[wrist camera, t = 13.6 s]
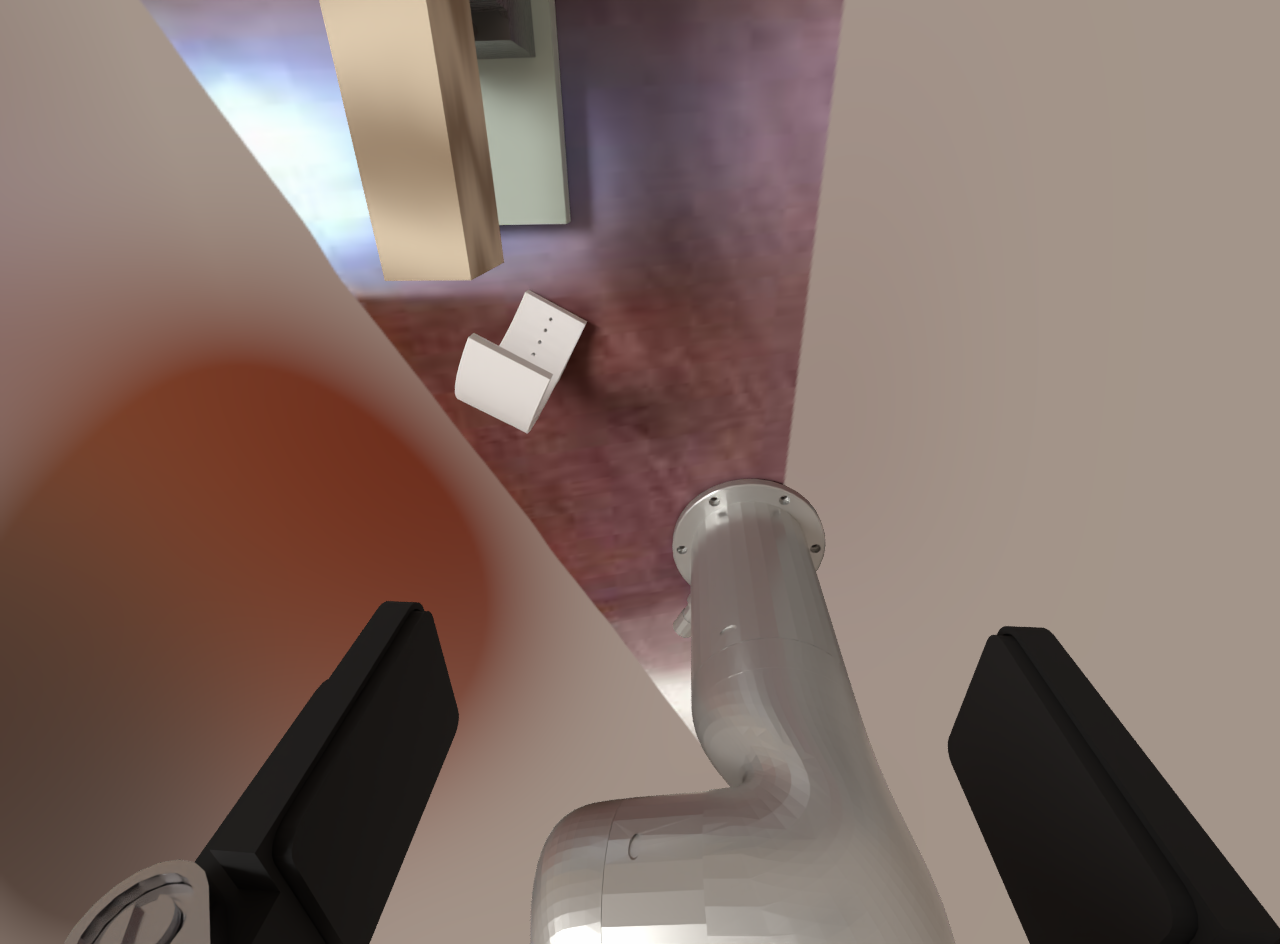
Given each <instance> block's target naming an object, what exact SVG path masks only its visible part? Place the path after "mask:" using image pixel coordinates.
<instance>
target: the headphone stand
mask: <svg viewBox="0 0 1280 944" xmlns="http://www.w3.org/2000/svg"><path fill="white" fill-rule="evenodd" d="M586 323H587V321H585V320H583V319H582V318H580V317H578V316H576V315H574V314H572V313H571V312H569V311H567V310H565V309H563V308H561V307H559V306H558V305H556V304H554V303H552V302H550V301H548V300H547V299H545V298H543V297H541V296H539V295H537V294H535V293H534V292H532V291H530V290H527V291H526V292H525V294H524V296H523V299H522V301H521V303H520V306H519V308H518V310H517V312H516V315H515V317H514V319H513V321H512V323H511V325H510V327H509V329H508V331H507V333H506V335H505V337H504V338H503V340H502V342H501V344H500V346H498V345H496V344H494V343H492V342H490V341H488V340H486V339H484V338H482V337H481V336H479V335H477V334H475V333H473V334H472V335H471V336H469V337H468V340H467V342H466V345H465V348H464V351H463V354H462V357H461V361H460V364H459V368H458V372H457V377H456V383H455V395H456V398H457V399H459V400H461V401H463V402H465V403H467V404H469V405H471V406H473V407H475V408H477V409H479V410H481V411H483V412H485V413H487V414H489V415H491V416H493V417H495V418H498V419H500V420H502V421H504V422H506V423H508V424H510V425H512V426H514V427H516V428H518V429H520V430H522V431H524V432H526V433H529V432H530V430H531V429H532V427H533V426H534V424H535V422H536V420H537V419H538V417H539V415H540V413H541V412H542V410H543V408H544V406H545V404H546V402H547V401H548V399H549V397H550V395H551V393H552V391H553V389H554V387H555V385H556V383H558V381H559V379H560V377H561V375H562V373H563V371H564V369H565V367H566V365H567V363H568V361H569V359H570V356H571V354H572V352H573V350H574V348H575V346H576V344H577V342H578V340H579V338H580V336H581V333H582V331H583V329H584V327H585V325H586Z"/></svg>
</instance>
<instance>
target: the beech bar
mask: <svg viewBox="0 0 1280 944" xmlns="http://www.w3.org/2000/svg"><path fill="white" fill-rule="evenodd" d="M319 2H320V6H321V10H322V14H323V19H324V23H325V27H326V31H327V36H328V40H329V44H330V48H331V53H332V57H333V61H334V65H335V70H336V74H337V78H338V83H339V87H340V91H341V95H342V100H343V104H344V108H345V112H346V117H347V121H348V125H349V129H350V134H351V138H352V142H353V146H354V151H355V155H356V159H357V164H358V168H359V172H360V176H361V181H362V185H363V189H364V193H365V198H366V202H367V206H368V210H369V215H370V219H371V223H372V228H373V232H374V236H375V240H376V245H377V249H378V253H379V257H380V262H381V266H382V270H383V274H384V279H385V281H418V280H472V279H474V278H476V277H478V276H480V275H482V274H484V273H485V272H487V271H489V270H491V269H493V268H495V267H497V266H498V265H500V264H502V263H504V259H503V251H502V244H501V236H500V228H499V221H498V213H497V206H496V198H495V191H494V183H493V175H492V168H491V160H490V153H489V145H488V138H487V130H486V122H485V115H484V107H483V100H482V92H481V85H480V77H479V69H478V62H477V54H476V47H475V39H474V32H473V24H472V16H471V9H470V1H469V0H319Z"/></svg>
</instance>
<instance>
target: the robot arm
mask: <svg viewBox="0 0 1280 944" xmlns="http://www.w3.org/2000/svg"><path fill="white" fill-rule="evenodd" d="M782 496H784V497H782ZM712 497H716V498H712ZM672 547H673V556H674V560H675V563H676V566H677V568H678V570H679V572H680V573H681V575H682V576H683V578H684V579H685V580H686V581H687V582H688V583H689V584H690V585H691V593H690V595H689V596H688V599H687V602H688V605H687V607H686V608H684V609H683V610H682V612H681V613H680V615H679V616H678V617H677V619H676V620H675V621H674V623H673V628H674V630H675V632H676V633H677V634H678V635H679V636H681V637H683V638H689V637H691V703H692V717H693V723H694V727H695V731H696V734H697V737H698V739H699V742H700V744H701V746H702V748H703V750H704V752H705V754H706V755H707V757H708V758H709V760H710V762H711V763H712V765H713V766H714V767H715V769H716V770H717V771H718V773H719V774H720V775H721V776H722V777H723V779H724V780H725V781H726V782H727V783H728V785H729V786H730V787H729V788H722V789H714V790H709V791H706V792H694V793H683V794H670V795H659V796H646V797H634V798H626V799H616V800H609V801H602V802H597V803H592V804H588V805H585V806H583V807H580V808H578V809H576V810H574V811H572V812H571V813H569V814H567V815H566V816H565V817H564V818H563V819H562V820H560V821H559V823H558V824H557V825H556V826H555V827H554V829H553V830H552V832H551V833H550V835H549V836H548V838H547V840H546V842H545V844H544V847H543V849H542V852H541V855H540V858H539V861H538V864H537V869H536V874H535V878H534V884H533V892H532V901H531V928H530V929H531V931H530V932H531V934H530V935H531V938H530V939H531V940H530V942H531V943H530V944H955V941H954V937H953V934H952V931H951V927H950V924H949V921H948V918H947V915H946V912H945V908H944V905H943V903H942V900H941V898H940V895H939V893H938V891H937V888H936V886H935V884H934V881H933V879H932V877H931V874H930V872H929V870H928V868H927V866H926V863H925V861H924V859H923V857H922V855H921V853H920V851H919V849H918V847H917V845H916V843H915V841H914V839H913V837H912V835H911V833H910V831H909V829H908V827H907V825H906V823H905V821H904V819H903V817H902V815H901V813H900V811H899V809H898V807H897V805H896V803H895V801H894V799H893V796H892V794H891V792H890V790H889V788H888V785H887V783H886V781H885V779H884V776H883V774H882V772H881V769H880V767H879V765H878V762H877V760H876V757H875V754H874V752H873V749H872V747H871V744H870V741H869V739H868V736H867V733H866V730H865V727H864V724H863V721H862V718H861V715H860V712H859V709H858V706H857V703H856V699H855V696H854V693H853V690H852V687H851V683H850V680H849V678H848V674H847V671H846V668H845V665H844V661H843V658H842V655H841V652H840V648H839V645H838V642H837V639H836V635H835V632H834V629H833V626H832V622H831V619H830V616H829V613H828V609H827V606H826V603H825V600H824V596H823V593H822V590H821V587H820V583H819V580H818V577H817V574H816V571H817V570H818V568H819V566H820V564H821V561H822V559H823V556H824V550H825V533H824V530H823V527H822V524H821V521H820V519H819V517H818V515H817V512H816V510H815V509H814V508H813V507H812V505H811V504H810V503H809V501H808V500H806V499H805V498H804V497H803V496H802V495H800V494H799V493H798V492H796V491H794V490H792V489H790V488H789V487H787V486H785V485H782V484H779V483H776V482H773V481H768V480H761V479H740V480H734V481H729V482H725V483H722V484H719V485H717V486H714V487H711V488H710V489H708V490H706V491H704V492H703V493H701V494H699V495H698V496H697V497H696V498H695V499H693V500H692V501H691V502H690V503H689V504H688V505H687V507H686V508H685V509H684V510H683V512H682V513H681V515H680V517H679V519H678V521H677V523H676V525H675V530H674V534H673V546H672ZM458 720H459V713H458V708H457V704H456V701H455V697H454V693H453V690H452V686H451V682H450V679H449V675H448V671H447V667H446V664H445V660H444V656H443V653H442V649H441V645H440V642H439V638H438V634H437V630H436V627H435V623H434V619H433V616H432V614H431V613H430V612H429V611H424V609H423V606H422V605H421V604H420V603H417V602H394V601H386V602H384V603H383V604H381V605H380V607H379V608H378V609H377V610H376V612H375V613H374V615H373V616H372V618H371V619H370V620H369V622H368V623H367V625H366V626H365V628H364V629H363V630H362V632H361V633H360V635H359V636H358V638H357V639H356V641H355V642H354V643H353V645H352V646H351V648H350V649H349V651H348V652H347V653H346V655H345V656H344V658H343V659H342V661H341V662H340V664H339V665H338V666H337V668H336V669H335V671H334V672H333V673H332V675H331V676H330V678H329V679H328V680H326V681H325V682H323V683H322V684H321V685H320V687H319V688H318V689H317V690H316V691H315V693H314V694H313V696H312V697H311V698H310V700H309V701H308V702H307V704H306V705H305V707H304V708H303V710H302V711H301V712H300V714H299V715H298V717H297V718H296V719H295V721H294V722H293V724H292V725H291V727H290V728H289V729H288V731H287V732H286V734H285V735H284V736H283V738H282V739H281V741H280V742H279V743H278V745H277V746H276V748H275V749H274V751H273V752H272V753H271V755H270V756H269V758H268V759H267V760H266V762H265V763H264V765H263V766H262V767H261V769H260V770H259V772H258V773H257V775H256V776H255V777H254V779H253V780H252V782H251V783H250V784H249V786H248V787H247V789H246V790H245V792H244V793H243V794H242V796H241V797H240V799H239V800H238V802H237V803H236V804H235V806H234V807H233V809H232V810H231V811H230V813H229V814H228V816H227V817H226V818H225V820H224V821H223V823H222V824H221V826H220V827H219V828H218V830H217V831H216V833H215V834H214V836H213V837H212V838H211V840H210V841H209V842H208V844H207V845H206V847H205V848H204V849H203V851H202V852H201V854H200V855H199V857H198V858H197V859H196V861H195V862H190V861H185V860H173V861H167V862H161V863H158V864H156V865H153V866H151V867H148V868H146V869H143V870H141V871H139V872H137V873H136V874H134V875H132V876H131V877H129V878H128V879H126V880H124V881H123V882H121V883H120V884H118V885H116V886H115V887H114V888H113V889H112V890H110V891H109V892H108V893H107V894H106V895H104V896H103V897H102V898H101V899H100V900H99V901H98V902H96V903H95V904H94V905H93V906H92V907H91V908H90V909H89V911H88V912H87V913H86V914H85V915H84V916H83V917H82V919H81V920H80V921H79V922H78V923H77V924H76V925H75V927H74V928H73V929H72V931H71V933H70V934H69V936H68V938H67V939H66V941H65V942H64V944H369V943H370V941H371V938H372V936H373V933H374V931H375V929H376V926H377V924H378V921H379V919H380V916H381V914H382V911H383V909H384V907H385V904H386V902H387V899H388V897H389V894H390V892H391V889H392V887H393V885H394V882H395V880H396V877H397V875H398V872H399V870H400V868H401V865H402V863H403V860H404V858H405V855H406V853H407V851H408V848H409V846H410V843H411V841H412V838H413V836H414V833H415V831H416V828H417V826H418V824H419V821H420V819H421V816H422V814H423V811H424V809H425V807H426V804H427V802H428V799H429V797H430V794H431V792H432V789H433V787H434V784H435V782H436V780H437V777H438V775H439V773H440V770H441V768H442V765H443V762H444V760H445V758H446V755H447V753H448V751H449V748H450V746H451V743H452V741H453V738H454V736H455V733H456V730H457V726H458ZM948 753H949V757H950V761H951V763H952V766H953V768H954V770H955V773H956V775H957V777H958V780H959V782H960V784H961V787H962V789H963V791H964V793H965V796H966V798H967V800H968V802H969V805H970V807H971V810H972V812H973V814H974V816H975V819H976V821H977V823H978V825H979V828H980V830H981V832H982V835H983V837H984V839H985V842H986V844H987V846H988V848H989V851H990V853H991V855H992V857H993V860H994V862H995V864H996V867H997V869H998V872H999V874H1000V876H1001V878H1002V880H1003V883H1004V885H1005V888H1006V890H1007V892H1008V895H1009V897H1010V899H1011V901H1012V903H1013V906H1014V908H1015V911H1016V913H1017V915H1018V917H1019V919H1020V922H1021V924H1022V927H1023V929H1024V931H1025V933H1026V936H1027V938H1028V940H1029V943H1030V944H1280V928H1279V927H1278V926H1277V924H1276V923H1275V922H1274V920H1273V919H1272V918H1271V916H1270V915H1269V914H1268V913H1267V911H1266V910H1265V909H1264V907H1263V906H1262V905H1261V903H1260V902H1259V901H1258V900H1257V898H1256V897H1255V896H1254V894H1253V893H1252V892H1251V891H1250V890H1249V888H1248V887H1247V885H1246V884H1245V883H1244V881H1243V880H1242V879H1241V878H1240V876H1239V875H1238V874H1237V872H1236V871H1235V870H1234V868H1233V867H1232V866H1231V865H1230V863H1229V862H1228V861H1227V860H1226V858H1225V857H1224V855H1223V854H1222V853H1221V852H1220V850H1219V849H1218V848H1217V846H1216V845H1215V844H1214V842H1213V841H1212V840H1211V839H1210V837H1209V836H1208V835H1207V833H1206V832H1205V831H1204V829H1203V828H1202V827H1201V826H1200V824H1199V823H1198V822H1197V821H1196V819H1195V818H1194V816H1193V815H1192V814H1191V813H1190V811H1189V810H1188V809H1187V807H1186V806H1185V805H1184V804H1183V802H1182V801H1181V800H1180V799H1179V797H1178V796H1177V794H1176V793H1175V792H1174V791H1173V789H1172V788H1171V787H1170V785H1169V784H1168V783H1167V781H1166V780H1165V779H1164V778H1163V776H1162V775H1161V774H1160V772H1159V771H1158V770H1157V768H1156V767H1155V766H1154V765H1153V763H1152V762H1151V761H1150V759H1149V758H1148V757H1147V755H1146V754H1145V753H1144V752H1143V751H1142V749H1141V748H1140V746H1139V745H1138V744H1137V742H1136V741H1135V740H1134V739H1133V738H1132V736H1131V735H1130V733H1129V732H1128V731H1127V730H1126V728H1125V727H1124V726H1123V724H1122V723H1121V722H1120V720H1119V719H1118V718H1117V717H1116V715H1115V714H1114V713H1113V711H1112V710H1111V709H1110V707H1109V706H1108V705H1107V704H1106V702H1105V701H1104V700H1103V698H1102V697H1101V696H1100V694H1099V693H1098V692H1097V691H1096V689H1095V688H1094V687H1093V685H1092V684H1091V683H1090V681H1089V680H1088V679H1087V678H1086V677H1085V675H1084V674H1083V672H1082V671H1081V670H1080V668H1079V667H1078V666H1077V665H1076V663H1075V662H1074V661H1073V659H1072V658H1071V657H1070V655H1069V654H1068V653H1067V652H1066V650H1065V649H1064V648H1063V646H1062V645H1061V644H1060V643H1059V641H1058V640H1057V639H1056V637H1055V636H1054V635H1053V634H1052V633H1051V632H1050V631H1049V630H1047V629H1045V628H1036V627H1034V628H1033V627H1011V626H1005V627H1002V628H1001V629H1000V630H999V632H998V634H997V635H991V636H990V637H989V638H988V640H987V642H986V645H985V647H984V650H983V652H982V655H981V657H980V660H979V662H978V665H977V668H976V670H975V673H974V675H973V678H972V680H971V683H970V686H969V688H968V690H967V693H966V696H965V698H964V701H963V703H962V706H961V708H960V711H959V713H958V716H957V718H956V721H955V723H954V726H953V729H952V731H951V734H950V736H949V740H948Z"/></svg>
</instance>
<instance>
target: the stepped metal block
mask: <svg viewBox="0 0 1280 944" xmlns="http://www.w3.org/2000/svg"><path fill="white" fill-rule="evenodd" d="M469 1H470V9H471V16H472V24H473V32H474V39H475V47H476V54H477V60H478V59H504V58H530V57H536V54H535V43H534V32H533V21H532V10H531V0H469Z"/></svg>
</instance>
